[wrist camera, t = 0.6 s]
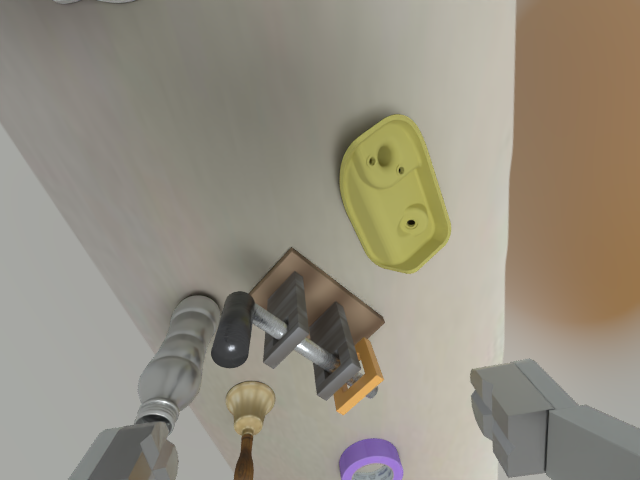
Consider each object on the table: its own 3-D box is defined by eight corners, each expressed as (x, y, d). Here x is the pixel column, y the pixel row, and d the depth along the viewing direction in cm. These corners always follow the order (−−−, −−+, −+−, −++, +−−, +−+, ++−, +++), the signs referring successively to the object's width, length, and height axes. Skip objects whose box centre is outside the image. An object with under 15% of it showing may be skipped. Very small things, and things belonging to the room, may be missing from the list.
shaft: (220, 301, 38) (203, 356, 30) (238, 281, 38) (225, 332, 30) (361, 392, 46) (379, 457, 37) (378, 377, 45) (400, 439, 37)
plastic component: (454, 236, 48) (407, 280, 45) (415, 227, 55) (371, 265, 51) (412, 99, 39) (349, 142, 36) (371, 107, 46) (314, 144, 42)
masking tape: (334, 478, 69) (337, 499, 65) (344, 437, 65) (347, 456, 61) (390, 478, 71) (395, 498, 67) (403, 437, 66) (410, 456, 63)
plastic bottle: (232, 309, 52) (204, 425, 33) (200, 334, 53) (156, 461, 34) (200, 281, 49) (150, 389, 31) (167, 308, 51) (100, 428, 32)
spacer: (329, 369, 48) (336, 411, 42) (363, 336, 47) (377, 374, 40) (335, 373, 49) (343, 415, 42) (370, 341, 47) (383, 379, 41)
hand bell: (285, 396, 59) (286, 493, 45) (254, 424, 61) (245, 527, 46) (247, 372, 57) (234, 468, 42) (215, 402, 58) (193, 505, 44)
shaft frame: (247, 294, 51) (235, 364, 38) (291, 247, 49) (294, 302, 35) (339, 356, 57) (357, 435, 44) (382, 316, 55) (414, 386, 42)
